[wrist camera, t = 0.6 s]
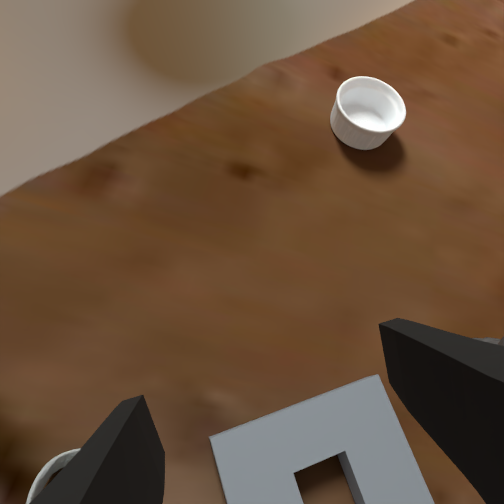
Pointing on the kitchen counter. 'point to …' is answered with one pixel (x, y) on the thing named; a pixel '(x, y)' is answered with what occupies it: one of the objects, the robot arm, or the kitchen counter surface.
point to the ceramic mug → (49, 472)
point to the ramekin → (366, 112)
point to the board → (322, 449)
